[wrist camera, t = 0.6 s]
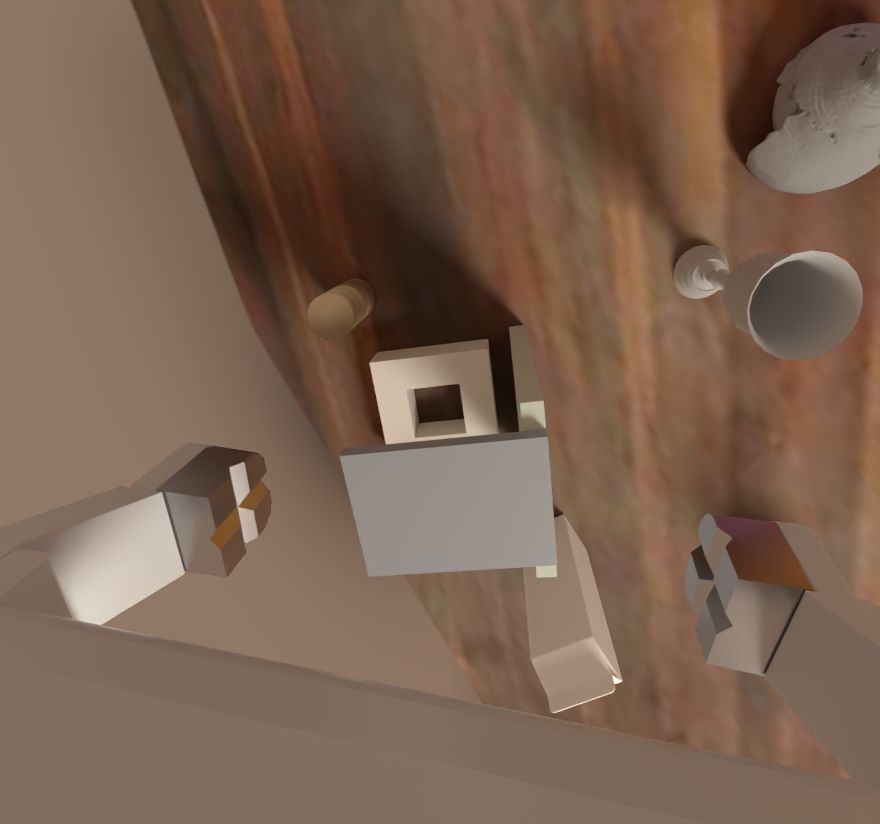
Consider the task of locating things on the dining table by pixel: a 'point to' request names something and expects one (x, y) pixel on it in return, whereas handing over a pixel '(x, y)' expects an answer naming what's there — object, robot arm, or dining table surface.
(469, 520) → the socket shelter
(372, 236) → the dining table surface
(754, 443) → the dining table surface
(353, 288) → the peg
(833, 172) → the grey conch shell
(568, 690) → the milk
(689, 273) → the chalice
